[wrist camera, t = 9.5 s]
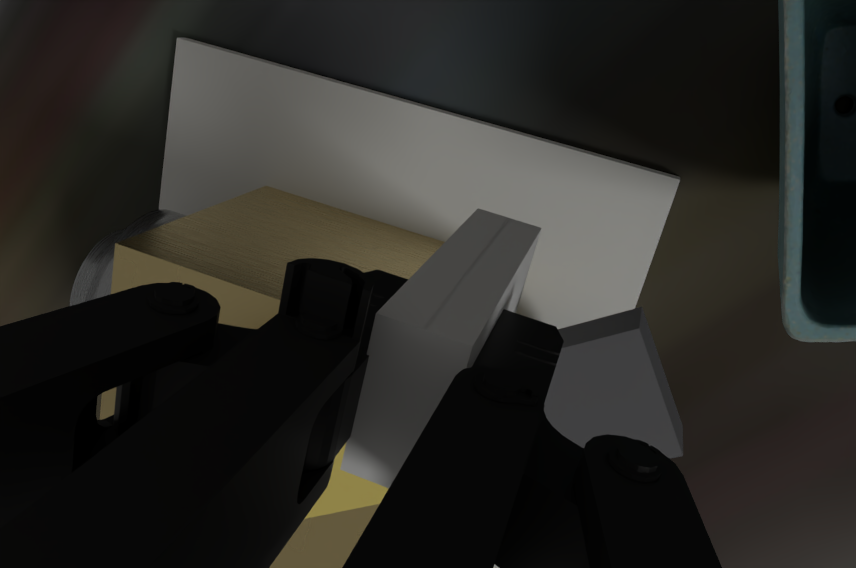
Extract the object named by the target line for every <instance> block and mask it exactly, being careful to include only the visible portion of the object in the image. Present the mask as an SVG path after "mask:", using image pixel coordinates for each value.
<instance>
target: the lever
mask: <svg viewBox="0 0 856 568" xmlns="http://www.w3.org/2000/svg"><path fill="white" fill-rule="evenodd" d="M558 331H559V333H560V335H561V337H562V338H563V340H564V343H563V346H562V349H561V352H560V355H559V358H558V362H557V365H556V368H555V371H554V374H553V377H552V380H551V384H550V387H549V390H548V393H547V396H546V399H545V403H544V406H545V407H544V412H545V415H546V418H547V419H548V421H549V422H550V423H551V425H552V426H553V427H554V428H555V429H556V430H557V431H558V432H560V433H561V434H562V435H563V436H565V437H566V438H568V439H569V440H571V441H572V442H574V443H575V444H577V445H579V446H581V447H582V448H584V447H585V444H586V443H587V442H588V441H589V440H590V439H592V438H593V437H595V436H601V435H606V434H610V435H618V436H625V437H628V438H632V439H635V440H641V441H643V442H645V443H648V444H649V446H651V445H652V446H653V447H655V448H657V449H658V450H660V451H661V452H662V453H663V454H664V455H665V456H666V457H668V458H674V457H679V456H683V426H682V423H681V420H680V417H679V414H678V411H677V408H676V405H675V402H674V399H673V397H672V394H671V391H670V388H669V385H668V382H667V379H666V376H665V373H664V370H663V367H662V364H661V361H660V358H659V355H658V352H657V350H656V347H655V344H654V341H653V338H652V335H651V332H650V329H649V326H648V323H647V320H646V317H645V314H644V311H643V308H642V307H639V308H635V309H632V310H628V311H624V312H621V313H617V314H613V315H609V316H606V317H602V318H598V319H594V320H591V321H587V322H583V323H580V324H576V325H572V326H568V327H565V328H561V329H558ZM345 446H346V443H345V445H344V446H343V447H342V449H341V450H340V451H339V453H338V454H337V455H336V457H335V459H334V464H333V468H332V473H331V477H330V480H329V483H328V486H327V488H326V489H325V491H324V492H323V493H322V495H321V496H320V498H319V499H318V500H317V502H316V503H315V505H314V506H313V507H312V509H311V510H310V512H309V513H308V514H307V516H306V517H305V519H306V518H311V517H316V516H321V515H326V514H331V513H336V512H341V511H346V510H351V509H356V508H361V507H366V506H371V505H376V504H380V503H381V501H382V499H383V498H384V496H385V494H386V492H387V491H388V489H389V488H386V487H384V486H381V485H379V484H376V483H374V482H371V481H369V480H366V479H363V478H361V477H358V476H356V475H353V474H350V473H348V472H345V471H343V470H340V468H341V464H342V459H343V455H344V451H345Z"/></svg>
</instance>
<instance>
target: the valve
mask: <svg viewBox="0 0 856 568" xmlns="http://www.w3.org/2000/svg"><path fill="white" fill-rule="evenodd" d="M444 243H445V242H443V241H440V240H437V239H434V238H430V237H427V236H424V235H421V234H418V233H415V232H411V231H408V230H405V229H402V228H399V227H396V226H392V225H389V224H386V223H383V222H380V221H377V220H373V219H370V218H367V217H364V216H361V215H358V214H354V213H351V212H348V211H345V210H342V209H339V208H335V207H332V206H329V205H326V204H323V203H320V202H316V201H313V200H310V199H307V198H304V197H301V196H298V195H294V194H291V193H288V192H285V191H282V190H279V189H275V188H272V187H269V186H264V187H261V188H258V189H256V190H253V191H251V192H248V193H245V194H243V195H240V196H237V197H235V198H232V199H230V200H227V201H224V202H222V203H219V204H217V205H214V206H211V207H209V208H206V209H203V210H201V211H198V212H196V213H193V214H190V215H188V216H186V215H183V214H180V213H177V212H174V211H171V210H166V209H163V210H155V211H151V212H149V213H147V214H145V215H143V216H141V217H140V218H138V219H137V220H135V221H134V222H133V223H132V224H130V225H129V226H128V227H127V228H126V229H125V230H118V231H115V232H112V233H110V234H109V235H107V236H105V237H104V238H103V239H102V240H100V241H99V242H98V243H97V244H96V245H95V246H94V247H93V249H92V250H91V251H90V252H89V254H88V255H87V257H86V258H85V260H84V261H83V263H82V265H81V267H80V269H79V271H78V273H77V276H76V278H75V281H74V284H73V288H72V292H71V297H70V306H72V305H76V304H79V303H82V302H86V301H89V300H93V299H96V298H100V297H103V296H106V295H110V294H113V293H117V292H120V291H124V290H127V289H130V288H134V287H137V286H141V285H146V284H152V283H170V282H180V283H182V284H183V285H184V284H189V285H193V286H194V287H196V288H198V289H201V290H204V291H206V292H208V293H209V294H211V295H212V296H213V297H215V298H216V299H217V300H218V303H219V305H220V307H221V308H220V315H219V322H218V323H220V324H226V325H232V326H237V327H243V328H250V329H258V328H260V327H261V326H262V325H264V324H265V323H266V322H267V321H269V320H270V319H271V318H273V317H274V316H275V315H277V314H278V311H279V305H280V300H281V294H282V288H283V283H284V277H285V271H286V266H287V263H288V262H291V261H294V260H296V259H305V258H318V259H328V260H333V261H337V262H341V263H345V264H347V265H350V266H352V267H354V268H357V269H359V270H361V271H362V272H363V273H365V272H369V271H373V270H377V269H378V270H381V271H384V272H387V273H390V274H393V275H396V276H399V277H402V278H405V279H408V280H409V279H410V278H411V277H412V276H413V274H414V273H415V272H416V271H417V270H418V269H419V268H420V267H421V266H422V265H423V264H424V263H425V262H426V261H427V260H428V259H429V258H430V257H431V256H432V255H433V254H434V253H435V252H436V251H437V250H438V249H439V248H440V247H441V246H442V245H443V244H444ZM115 398H116V387H115V388H113V389H110V390H108V391H106V392H103V393H102V400H101V411H100V420H102V419H105V418H107V417H110V416H112V415H114V409H115ZM378 506H379V504H376V505H371V506H366V507H361V508H356V509H351V510H346V511H341V512H336V513H331V514H326V515H321V516H316V517H311V518H306V519H304V520H303V521H302V523H301V524H300V526H299V527H298V528H297V530H296V531H295V532H294V534H293V535H292V537H291V538H290V539H289V541H288V542H287V544H286V545H285V546H284V548H283V549H282V551H281V552H280V553H279V555H278V556H277V558H276V559H275V560H274V562H273V563H272V565H271V566H270V567H269V568H342V567H343V565H344V564H345V562H346V560H347V559H348V557H349V555H350V554H351V552H352V550H353V548H354V547H355V545H356V543H357V542H358V540H359V538H360V537H361V535H362V533H363V532H364V530H365V528H366V526H367V525H368V523H369V521H370V520H371V518H372V516H373V515H374V513H375V511H376V509H377V508H378Z"/></svg>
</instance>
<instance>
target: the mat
mask: <svg viewBox="0 0 856 568" xmlns="http://www.w3.org/2000/svg"><path fill="white" fill-rule="evenodd" d="M679 182H680V177H679V176H675V175H672V174H668V173H665V172H661V171H658V170H654V169H650V168H647V167H643V166H640V165H636V164H633V163H629V162H626V161H622V160H619V159H615V158H611V157H608V156H604V155H601V154H597V153H594V152H590V151H587V150H583V149H580V148H576V147H572V146H569V145H565V144H562V143H558V142H555V141H551V140H548V139H544V138H541V137H537V136H533V135H530V134H526V133H523V132H519V131H516V130H512V129H509V128H505V127H502V126H498V125H494V124H491V123H487V122H484V121H480V120H477V119H473V118H470V117H466V116H463V115H459V114H455V113H452V112H448V111H445V110H441V109H438V108H434V107H431V106H427V105H423V104H420V103H416V102H413V101H409V100H406V99H402V98H399V97H395V96H392V95H388V94H384V93H381V92H377V91H374V90H370V89H367V88H363V87H360V86H356V85H353V84H349V83H345V82H342V81H338V80H335V79H331V78H328V77H324V76H321V75H317V74H314V73H310V72H306V71H303V70H299V69H296V68H292V67H289V66H285V65H282V64H278V63H275V62H271V61H267V60H264V59H260V58H257V57H253V56H250V55H246V54H243V53H239V52H235V51H232V50H228V49H225V48H221V47H218V46H214V45H211V44H207V43H204V42H200V41H196V40H193V39H189V38H177V41H176V51H175V60H174V69H173V79H172V88H171V97H170V107H169V116H168V125H167V135H166V144H165V154H164V163H163V172H162V182H161V191H160V200H159V210H163V209H166V210H171V211H174V212H177V213H180V214H183V215H186V216H188V215H190V214H193V213H196V212H198V211H201V210H203V209H206V208H209V207H211V206H214V205H217V204H219V203H222V202H224V201H227V200H230V199H232V198H235V197H237V196H240V195H243V194H245V193H248V192H251V191H253V190H256V189H258V188H261V187H264V186H269V187H272V188H275V189H279V190H282V191H285V192H288V193H291V194H294V195H298V196H301V197H304V198H307V199H310V200H313V201H316V202H320V203H323V204H326V205H329V206H332V207H335V208H339V209H342V210H345V211H348V212H351V213H354V214H358V215H361V216H364V217H367V218H370V219H373V220H377V221H380V222H383V223H386V224H389V225H392V226H396V227H399V228H402V229H405V230H408V231H411V232H415V233H418V234H421V235H424V236H427V237H430V238H434V239H437V240H440V241H443V242H446V241H447V240H448V238H449V237H450V236H451V235H452V234H453V233H454V232H455V231H456V230H457V229H458V228H459V227H460V226H461V225H462V224H463V223H464V222H465V221H466V220H467V219H468V218H469V217H470V216H471V215H472V214H473V213H474V212H475V211H476V210H477V209H478V208H479V209H482V210H486V211H489V212H492V213H495V214H498V215H502V216H505V217H508V218H511V219H514V220H518V221H521V222H524V223H527V224H530V225H534V226H537V227H540V228H542V229H541V232H540V235H539V239H538V242H537V245H536V248H535V252H534V255H533V258H532V262H531V265H530V268H529V271H528V275H527V278H526V281H525V285H524V288H523V291H522V295H521V298H520V301H519V304H518V308H517V311H516V313H517V314H520V315H523V316H526V317H529V318H532V319H535V320H538V321H541V322H544V323H547V324H550V325H553V326H556V327H557V329H561V328H565V327H568V326H572V325H576V324H580V323H583V322H587V321H591V320H594V319H598V318H602V317H606V316H609V315H613V314H617V313H621V312H624V311H628V310H632V309H635V306H636V303H637V301H638V298H639V295H640V292H641V289H642V286H643V284H644V281H645V278H646V275H647V272H648V269H649V267H650V264H651V261H652V258H653V255H654V253H655V250H656V247H657V244H658V241H659V238H660V236H661V233H662V230H663V227H664V224H665V221H666V219H667V216H668V213H669V210H670V207H671V204H672V202H673V199H674V196H675V193H676V190H677V187H678V185H679ZM493 568H499V567H498V566H496V565H495V564H494V567H493Z"/></svg>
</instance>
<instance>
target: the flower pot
mask: <svg viewBox="0 0 856 568" xmlns="http://www.w3.org/2000/svg"><path fill="white" fill-rule="evenodd" d="M778 12H779V68H780V182H779V231H778V263H779V277H780V295H781V309H782V322H783V325H784V328H785V330H786V331H787V333H788V334H789V335H790V336H791V337H792V338H794V339H796V340H799V341H805V342H847V341H856V0H778ZM844 96H846V97H850V98H852V100H853V103H854V104H853V108H852V109H851V111H849V112H848V113H845V114H841V113H839V112H838V111H837V110H836V108H835V103H836V101H837V100H838V99H839V98H841V97H844Z"/></svg>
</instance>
